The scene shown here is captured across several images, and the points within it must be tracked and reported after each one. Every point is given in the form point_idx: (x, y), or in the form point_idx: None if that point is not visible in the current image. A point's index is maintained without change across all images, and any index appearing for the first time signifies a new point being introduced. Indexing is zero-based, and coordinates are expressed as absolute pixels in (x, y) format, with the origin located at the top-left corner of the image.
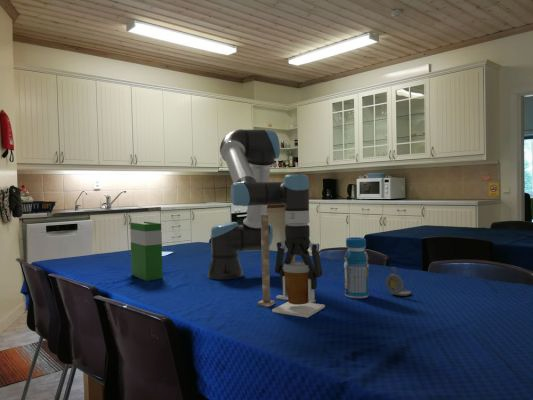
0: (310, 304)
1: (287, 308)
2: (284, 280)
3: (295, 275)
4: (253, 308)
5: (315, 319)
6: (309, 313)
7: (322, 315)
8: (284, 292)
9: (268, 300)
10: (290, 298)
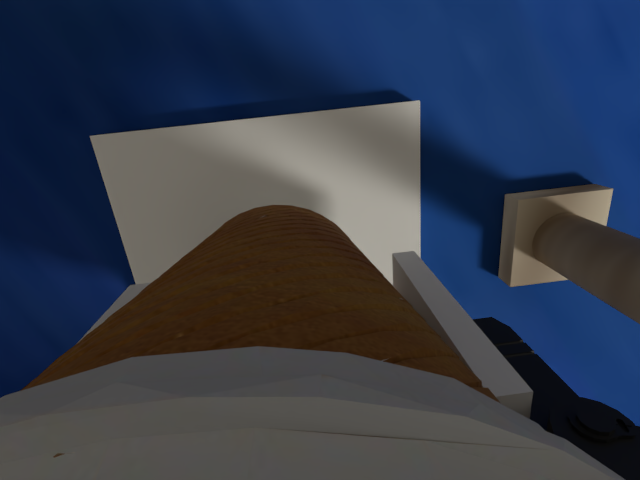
0: None
1: (328, 190)
2: (465, 350)
3: (86, 357)
4: (591, 95)
5: (25, 131)
6: (106, 177)
7: (61, 241)
8: (411, 270)
9: (544, 237)
10: (300, 213)
